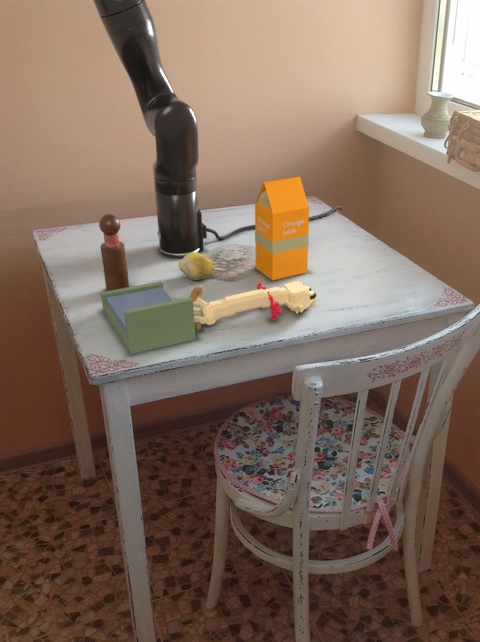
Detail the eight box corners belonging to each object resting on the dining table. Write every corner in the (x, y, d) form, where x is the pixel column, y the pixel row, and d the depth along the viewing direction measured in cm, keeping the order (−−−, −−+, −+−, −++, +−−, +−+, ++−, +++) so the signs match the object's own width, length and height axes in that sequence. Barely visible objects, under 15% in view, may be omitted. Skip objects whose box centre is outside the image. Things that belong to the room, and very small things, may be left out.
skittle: (126, 285, 145) (116, 209, 137) (132, 293, 142) (123, 216, 133) (104, 289, 144) (93, 212, 135) (110, 298, 140) (99, 220, 131)
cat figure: (200, 343, 128) (326, 312, 134) (194, 300, 123) (324, 271, 129) (187, 319, 135) (306, 291, 142) (180, 278, 130) (304, 251, 137)
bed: (162, 299, 140) (159, 262, 136) (195, 339, 126) (193, 299, 122) (103, 311, 135) (97, 272, 131) (131, 354, 122) (125, 313, 117)
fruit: (228, 280, 148) (182, 281, 144) (218, 277, 153) (174, 278, 149) (228, 252, 147) (182, 252, 143) (218, 251, 152) (174, 251, 148)
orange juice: (307, 272, 152) (310, 180, 141) (272, 280, 148) (272, 187, 137) (289, 260, 158) (290, 171, 147) (254, 267, 154) (253, 176, 143)
